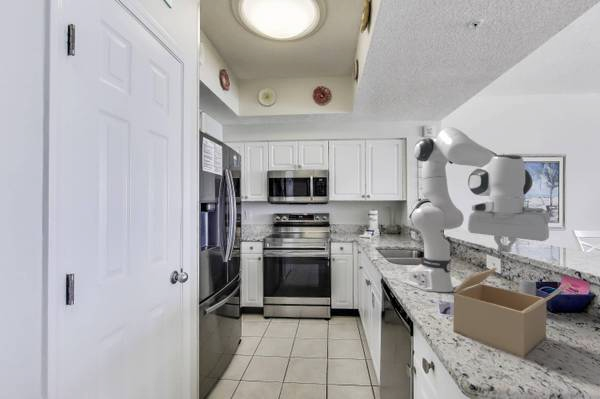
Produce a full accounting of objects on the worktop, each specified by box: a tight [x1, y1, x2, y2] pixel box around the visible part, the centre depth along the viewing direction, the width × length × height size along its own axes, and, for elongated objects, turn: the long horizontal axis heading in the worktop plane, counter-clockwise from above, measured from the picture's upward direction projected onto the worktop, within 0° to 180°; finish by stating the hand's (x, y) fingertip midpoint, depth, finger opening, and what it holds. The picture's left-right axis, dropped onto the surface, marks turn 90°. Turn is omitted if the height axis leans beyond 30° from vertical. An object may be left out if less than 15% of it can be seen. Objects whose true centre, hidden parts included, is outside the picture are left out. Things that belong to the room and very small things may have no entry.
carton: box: [453, 283, 547, 359], centre depth 86 cm, size 18×20×12 cm
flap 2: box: [525, 282, 573, 313], centre depth 76 cm, size 8×19×1 cm
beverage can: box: [518, 278, 537, 296], centre depth 104 cm, size 5×5×12 cm
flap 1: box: [452, 267, 498, 293], centre depth 91 cm, size 8×19×1 cm
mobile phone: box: [437, 300, 454, 318], centre depth 106 cm, size 8×1×15 cm
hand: (504, 251), depth 85 cm, fingers closed
